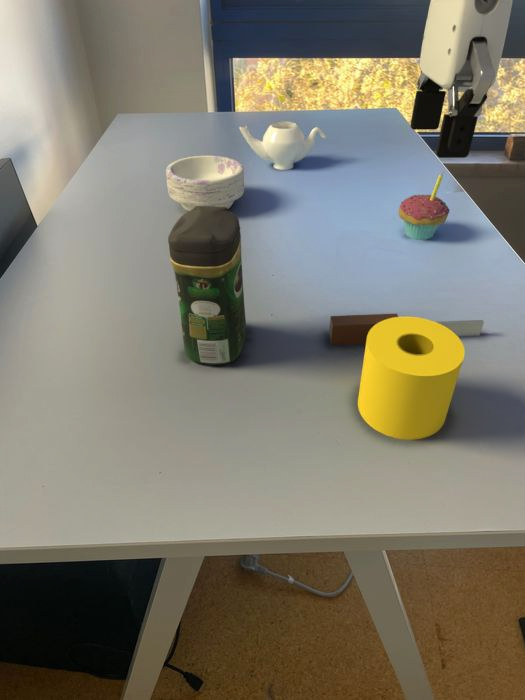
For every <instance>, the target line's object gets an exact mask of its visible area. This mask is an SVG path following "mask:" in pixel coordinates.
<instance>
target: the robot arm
mask: <svg viewBox="0 0 525 700" xmlns="http://www.w3.org/2000/svg"><path fill="white" fill-rule="evenodd" d="M513 1H514V0H430V2H429V7H428V11H427V17H426V22H425V26H424V33H423V37H422V42H421V43H422V44H421V49H420V56H419V70H420V74H419V77H418V79H417V81H416V82H417V83H416V92H415V95H414V96H415V97H414V101H413V102H414V103H413V107H412V112H411V119H410V129H412V130H414V131H416V130H417V131H419V130H420V131H422V130H423V131H427V130H429V131H430V130H432V131H434V130H437V129H439V126H440V132H439V135H438V141H437V145H436V149H435V155H436V157H438V158H439V159H445V158H446V159H460V158H461V159H462V158H463V159H464V158H467V157H468V156H469V154H470V152H471V151H470V150H471V146H472V142H473V138H474V134H475V131H476V126H477V122H478V118H479V117H480V116H481V115H482V111H483V105H484V104H485V102H486V101H487V99H488V91H489V90H490V89H491V88H492V87H493V86H494V84H495V83H496V80H497V78H498V73H499V68H500V64H501V60H502V55H503V50H504V46H505V42H506V37H507V32H508V28H509V23H510V17H511V13H512V8H513ZM459 93H463V94H462V95H461V97H460V98H459ZM446 94H447V104H448V105H447V108H448V109H447V110H448V113H444V114H443V117H442V113H443V108H444V103H445V99H446ZM441 119H442V122H441V125H440V121H441Z"/></svg>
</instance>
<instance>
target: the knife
mask: <svg viewBox="0 0 525 700" xmlns="http://www.w3.org/2000/svg"><path fill="white" fill-rule="evenodd" d="M394 317H399V315H398V313H376V314H375V313H373V314H350V315H349V314H346V315H331V316H330V317H329V328H328V330H329V331H328V332H329V333H328V337H329V343H330V345H331V346H348V345H366V340H367V335H368V333H369V331H370V329H371V328H372V327H373V326H374V325H376V324H377V323H379V322H381V321H383V320H386V319H389V318H394ZM436 322H437V323H439V324H441V325H443V326H445V327H447V328H448V329H450V330H451V331H452V332H454V333H455V334H456V335H457V336H458V337H479V336H481V333H482V330H483V327H484V323H485V321H484V319H472V320H471V319H470V320H467V319H466V320H447V321H446V320H445V321H444V320H443V321H441V320H440V321H436Z"/></svg>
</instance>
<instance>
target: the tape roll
mask: <svg viewBox="0 0 525 700" xmlns="http://www.w3.org/2000/svg"><path fill="white" fill-rule="evenodd" d="M437 322H438V321H434V320H431V319H427V318H423V317H418V316H398V317H394V318H389V319H386V320H383V321H381V322H379V323H377V324H376V325H374V326H373V327H372V328H371V329H370V331H369V333H368V335H367V340H366V344H365V350H364V355H363V363H362V368H361V369H362V370H361V376H360V384H359V390H358V398H357V407H358V408H357V409H358V412H359V414H360V415H361V417H362V419H363V420H364V421H365V422H366V424H368V425H369V426H370V427H372V429H374V430H375V431H376V432H379V433H381V434H383V435H384V436H386V437H390V438H394V439H398V440H404V441H405V440H406V441H409V440H410V441H413V440H421V439H425V438H428V437H430V436H433V435H434V434H436V433H437V432H439V431H440V429H441V428H442V427H443V426H444V424H445V422H446V419H447V415H448V412H449V409H450V405H451V401H452V398H453V396H454V392H455V388H456V385H457V382H458V379H459V375H460V372H461V368H462V366H463V365H462V364H463V361H464V359H465V356H466V355H465V354H466V351H465V346H464V344H463V342H462V340H461V339H460V336H457V335H456V334H455V333H454V332H452V331H451V330H450V329H448V328H447V327H445V326H443V325H441V324H439V323H437Z"/></svg>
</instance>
